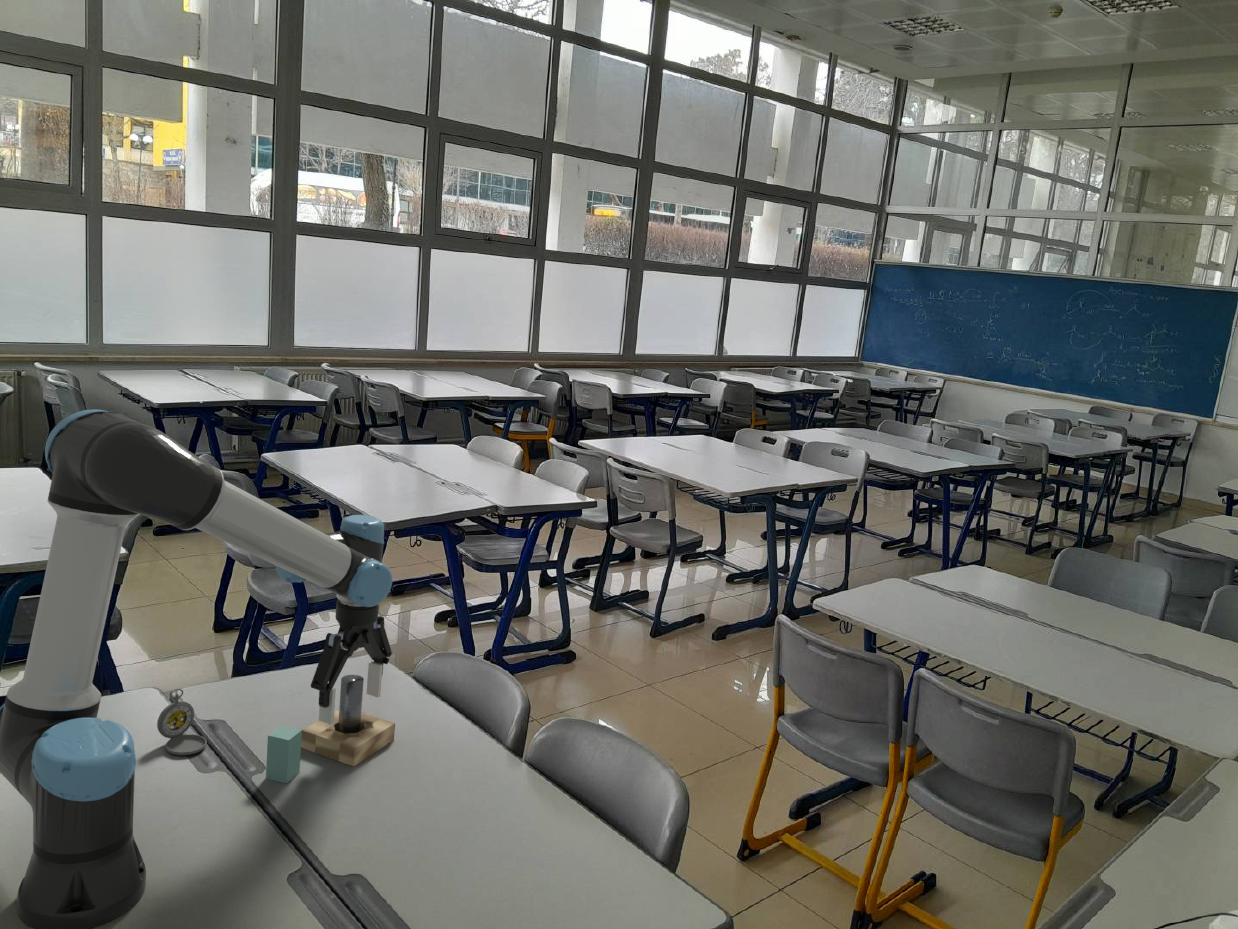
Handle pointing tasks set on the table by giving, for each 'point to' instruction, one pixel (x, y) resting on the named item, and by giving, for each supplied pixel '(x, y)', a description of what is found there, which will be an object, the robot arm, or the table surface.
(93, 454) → the robot arm
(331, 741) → the socket block
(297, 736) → the square bit
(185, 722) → the pocket watch
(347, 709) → the cylinder
